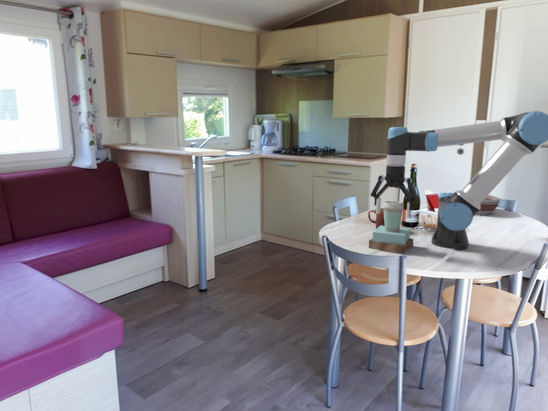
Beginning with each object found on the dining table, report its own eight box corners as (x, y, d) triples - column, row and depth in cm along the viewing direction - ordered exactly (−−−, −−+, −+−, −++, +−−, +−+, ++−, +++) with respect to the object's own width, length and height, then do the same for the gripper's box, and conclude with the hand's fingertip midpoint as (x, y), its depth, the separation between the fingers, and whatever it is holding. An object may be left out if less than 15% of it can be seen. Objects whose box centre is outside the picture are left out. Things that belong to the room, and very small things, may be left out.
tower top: (409, 237, 192) (410, 228, 191) (404, 244, 180) (404, 235, 179) (379, 234, 197) (380, 225, 196) (372, 241, 186) (373, 232, 185)
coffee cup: (403, 233, 183) (404, 204, 180) (382, 232, 184) (383, 204, 182) (401, 228, 191) (403, 201, 189) (381, 227, 193) (382, 200, 190)
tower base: (412, 247, 191) (413, 238, 190) (400, 255, 180) (400, 246, 179) (382, 242, 199) (382, 233, 198) (368, 249, 188) (369, 240, 187)
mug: (393, 229, 220) (394, 208, 218) (391, 233, 212) (392, 212, 210) (369, 226, 224) (370, 207, 222) (365, 230, 216) (366, 210, 214)
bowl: (449, 209, 268) (451, 193, 266) (489, 210, 265) (490, 193, 263) (461, 217, 245) (463, 200, 243) (504, 218, 243) (506, 200, 241)
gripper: (429, 166, 178) (425, 217, 182) (371, 162, 193) (369, 210, 197) (422, 167, 172) (418, 221, 176) (364, 163, 187) (362, 213, 191)
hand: (392, 215), depth 186 cm, fingers open, 13 cm apart
